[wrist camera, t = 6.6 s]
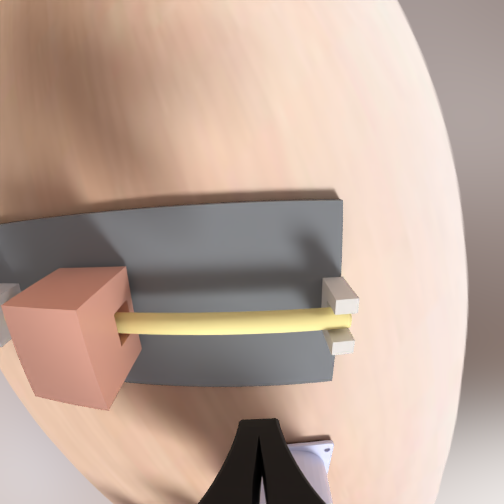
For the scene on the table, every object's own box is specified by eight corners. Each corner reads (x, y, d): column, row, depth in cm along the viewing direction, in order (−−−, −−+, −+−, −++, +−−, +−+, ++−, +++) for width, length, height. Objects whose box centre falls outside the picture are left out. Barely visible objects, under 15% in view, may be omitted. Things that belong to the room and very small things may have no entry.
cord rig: (331, 375, 20) (346, 417, 16) (25, 362, 21) (-1, 390, 16) (341, 199, 17) (368, 209, 13) (-11, 225, 18) (-50, 239, 13)
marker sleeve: (142, 349, 19) (108, 410, 13) (78, 344, 19) (35, 395, 13) (126, 266, 17) (75, 310, 11) (59, 268, 17) (0, 305, 12)
